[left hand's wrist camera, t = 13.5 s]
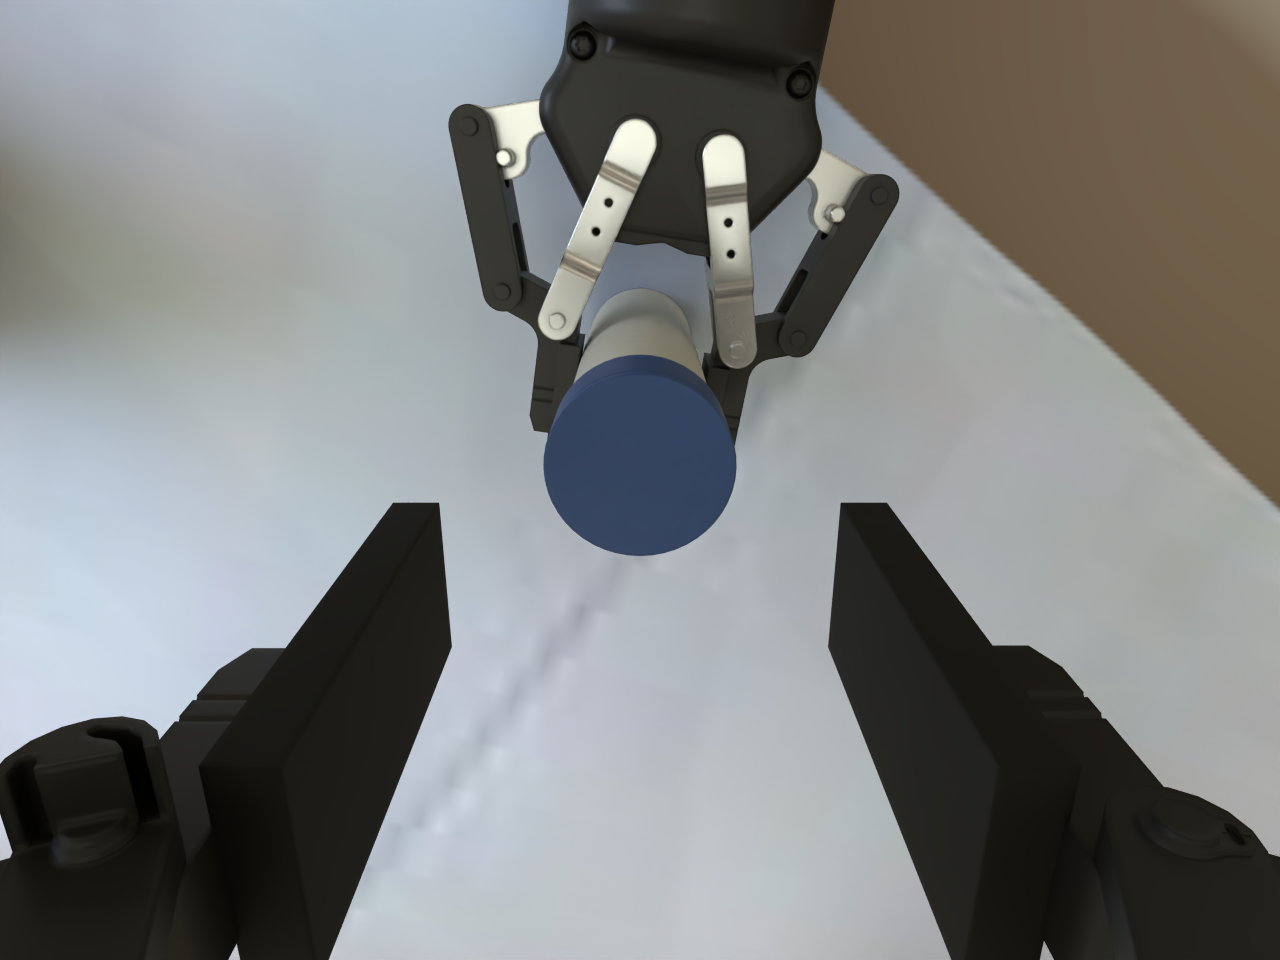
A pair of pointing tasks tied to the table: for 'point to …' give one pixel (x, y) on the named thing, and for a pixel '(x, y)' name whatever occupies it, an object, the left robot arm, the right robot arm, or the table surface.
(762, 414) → the table surface
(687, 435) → the lid
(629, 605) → the table surface
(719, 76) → the right robot arm
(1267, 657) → the table surface
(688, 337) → the jar
